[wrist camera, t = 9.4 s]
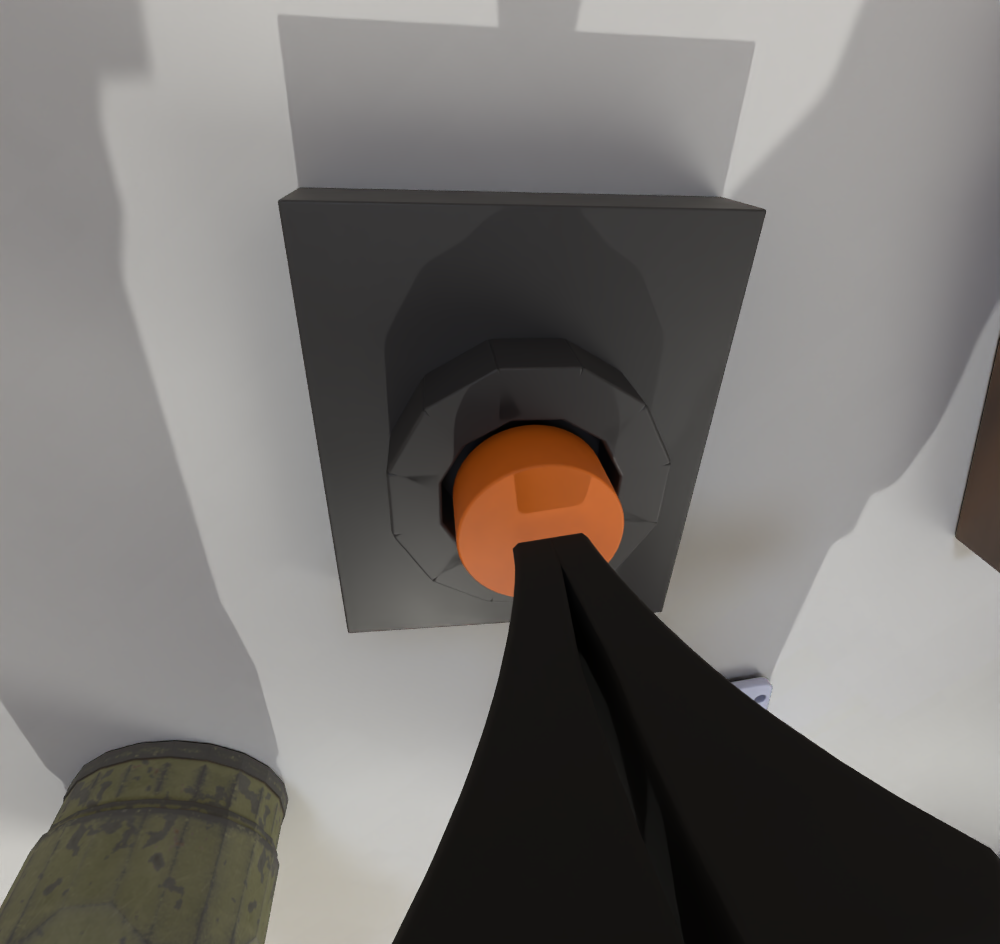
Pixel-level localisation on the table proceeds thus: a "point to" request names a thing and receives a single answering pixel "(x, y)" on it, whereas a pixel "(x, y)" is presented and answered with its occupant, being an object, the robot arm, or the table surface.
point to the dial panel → (985, 482)
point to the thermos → (154, 852)
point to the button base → (505, 366)
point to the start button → (530, 500)
